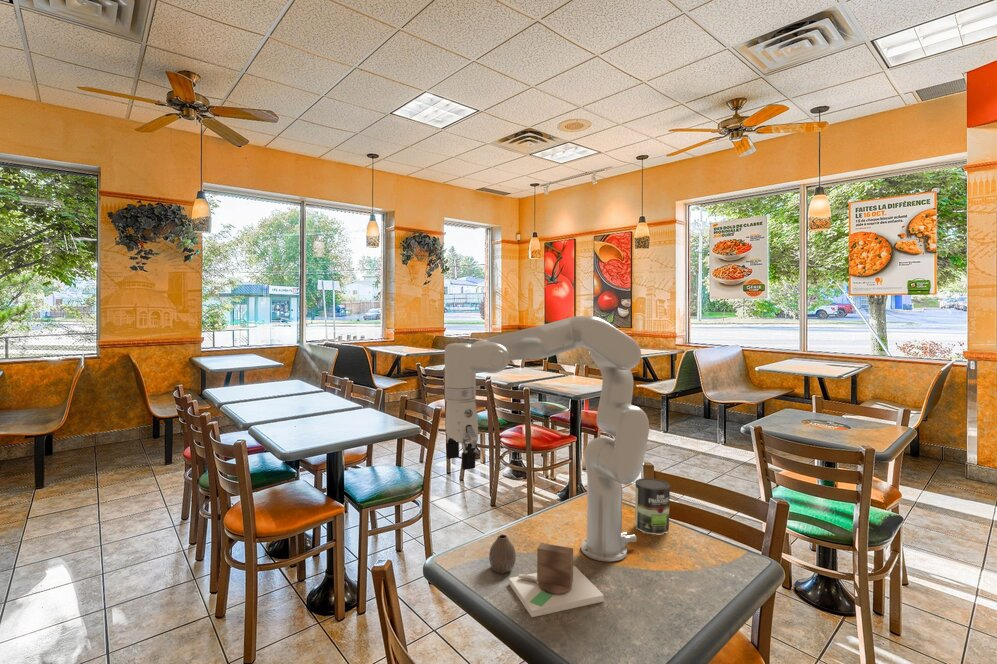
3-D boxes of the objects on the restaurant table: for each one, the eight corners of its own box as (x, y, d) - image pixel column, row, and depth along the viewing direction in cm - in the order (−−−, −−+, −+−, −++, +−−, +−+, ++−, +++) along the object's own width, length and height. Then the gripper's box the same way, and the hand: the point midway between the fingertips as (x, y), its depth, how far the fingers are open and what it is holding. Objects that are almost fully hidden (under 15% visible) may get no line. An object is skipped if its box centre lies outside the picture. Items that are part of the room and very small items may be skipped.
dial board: (574, 571, 127) (574, 565, 127) (603, 601, 114) (603, 594, 114) (509, 583, 121) (509, 577, 121) (531, 617, 108) (531, 609, 108)
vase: (513, 578, 124) (513, 543, 123) (486, 575, 125) (486, 541, 125) (517, 564, 130) (517, 531, 130) (492, 561, 132) (492, 529, 132)
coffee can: (676, 534, 149) (676, 488, 148) (644, 537, 147) (645, 490, 146) (658, 520, 159) (659, 476, 158) (628, 522, 157) (629, 478, 156)
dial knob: (575, 579, 120) (575, 543, 119) (567, 597, 112) (568, 559, 112) (523, 569, 124) (524, 535, 124) (513, 585, 117) (514, 549, 116)
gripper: (490, 398, 114) (490, 471, 115) (460, 387, 130) (460, 452, 130) (460, 400, 111) (460, 475, 112) (433, 390, 126) (433, 456, 127)
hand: (460, 463), depth 121 cm, fingers open, 9 cm apart
